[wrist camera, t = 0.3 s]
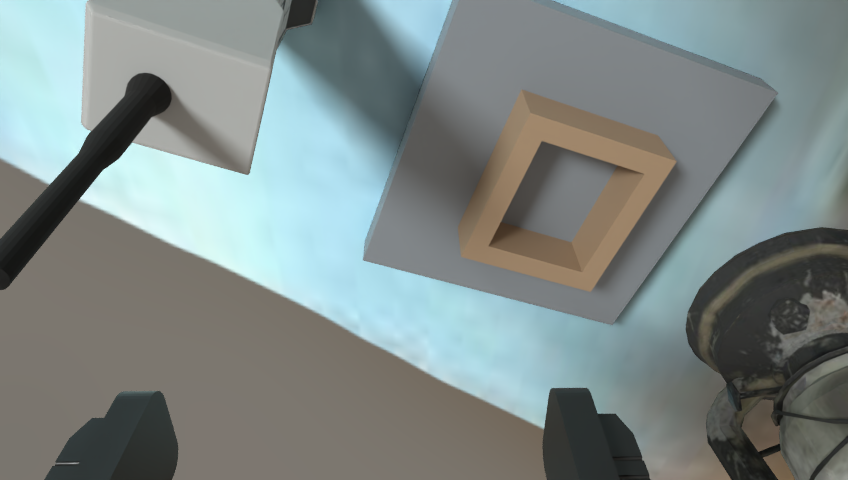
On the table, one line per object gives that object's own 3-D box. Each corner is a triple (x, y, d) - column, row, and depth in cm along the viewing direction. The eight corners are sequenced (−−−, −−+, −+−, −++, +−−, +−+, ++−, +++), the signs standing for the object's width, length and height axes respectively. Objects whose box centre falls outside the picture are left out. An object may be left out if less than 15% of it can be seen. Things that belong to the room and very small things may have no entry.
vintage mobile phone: (314, 17, 33) (160, 389, 12) (218, -15, 32) (-124, 331, 11) (333, -56, 31) (183, 246, 10) (230, -93, 30) (-161, 159, 9)
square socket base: (464, -33, 31) (472, -7, 27) (761, 78, 35) (807, 116, 31) (364, 241, 41) (360, 290, 37) (604, 305, 45) (624, 356, 41)
